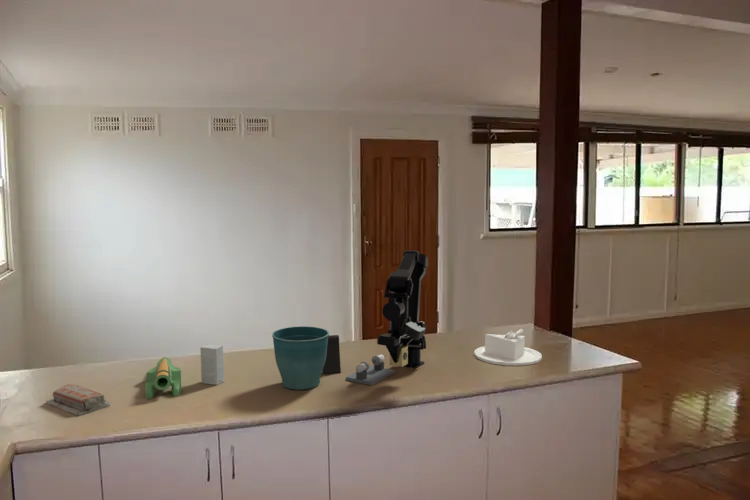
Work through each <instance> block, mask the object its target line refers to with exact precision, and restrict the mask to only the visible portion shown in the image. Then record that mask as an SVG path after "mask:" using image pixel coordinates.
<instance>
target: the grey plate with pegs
mask: <svg viewBox="0 0 750 500" xmlns="http://www.w3.org/2000/svg"><path fill="white" fill-rule="evenodd" d="M384 360H385V356H384V354H378V355H373V356H372V357H371V363H372V365H373V366H372V365H370V363H369V362H368V361H366V360H363V361H361V362H360V363H359V364H358V365H356V366H355V372H353V373H351V374H350V375H348V376H346V377H345V381H349V382H353V383H359V384H365V385H369V386H374V385H375V384H377V383H378V381H379V382H380V381H382V380H385V378H387V377H389V376H391V375H393V374H394V373H395V369H392V368H386V367H385V362H384Z"/></svg>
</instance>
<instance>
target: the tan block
mask: <svg viewBox="0 0 750 500" xmlns="http://www.w3.org/2000/svg"><path fill="white" fill-rule="evenodd" d="M406 364H408V346H406V345H401V346H400V348H399V355H398V362H397V363H394V361H393V359H392V357H391V355H390V354H389V365H390V366H393V367H394V366H395V367H401V368H403V367H404V366H405V365H406ZM405 367H406V366H405Z"/></svg>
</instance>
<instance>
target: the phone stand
mask: <svg viewBox="0 0 750 500" xmlns="http://www.w3.org/2000/svg"><path fill="white" fill-rule="evenodd" d="M340 350H341V349H340V336H339V335H338V334H335V335H330V334H329V336H328V344H327V355H326V361H325V364H324V367H323V370H322V373H323V374H324V375H325V374H337V373H338V374H340V373H341V371H342V370H341V369H342V368H341V354H340Z"/></svg>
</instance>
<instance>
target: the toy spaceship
mask: <svg viewBox="0 0 750 500" xmlns="http://www.w3.org/2000/svg"><path fill="white" fill-rule="evenodd" d="M169 387H171V393H172V396H173V397H179V396H180V395H181V393H182V370H181V368H179V367H177V366H175V365H173V363H172V360H171V359H170V358H168V357H166V356H164V357H162V358H160V359H159V360H158V361H157V363H156V365H155V366H154V367H153V368H151V369H149V370H147V372H146V383H145V384H144V394H145V398H146V399H147V400H149V399H154V396H155V394H156V389H157V390H160V391H166V390H167V389H168V388H169ZM155 388H156V389H155Z"/></svg>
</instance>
